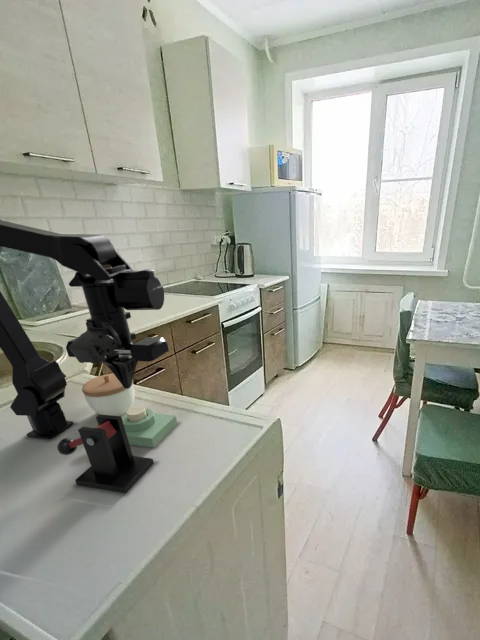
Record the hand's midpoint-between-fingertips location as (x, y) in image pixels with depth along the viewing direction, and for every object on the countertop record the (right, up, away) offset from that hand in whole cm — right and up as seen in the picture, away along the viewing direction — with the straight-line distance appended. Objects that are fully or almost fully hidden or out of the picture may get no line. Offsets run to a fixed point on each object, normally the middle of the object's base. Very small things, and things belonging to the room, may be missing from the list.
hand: (128, 387), depth 71 cm
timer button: (+1, -6, +3) cm, 7 cm away
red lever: (-3, -10, -9) cm, 14 cm away
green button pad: (+1, -10, +5) cm, 11 cm away
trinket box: (-9, -6, +14) cm, 18 cm away
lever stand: (+1, -15, -7) cm, 17 cm away
